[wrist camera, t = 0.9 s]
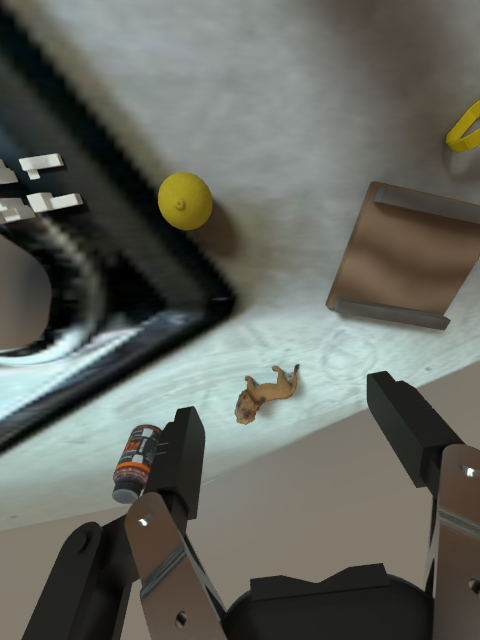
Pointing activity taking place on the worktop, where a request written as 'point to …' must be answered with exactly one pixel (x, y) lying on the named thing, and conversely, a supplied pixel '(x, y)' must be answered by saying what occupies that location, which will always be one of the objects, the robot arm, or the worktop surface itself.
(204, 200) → the lemon
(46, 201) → the modular blocks
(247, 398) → the lion figurine
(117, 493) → the supplement bottle
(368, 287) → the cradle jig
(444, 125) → the worktop surface
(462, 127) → the watch
